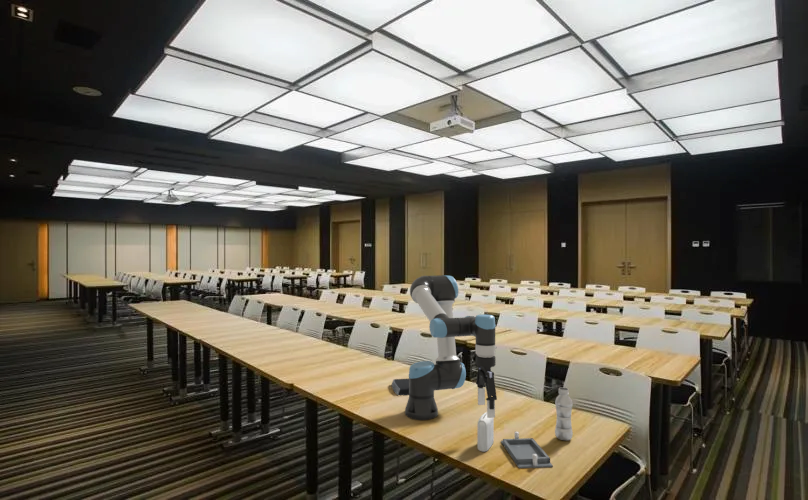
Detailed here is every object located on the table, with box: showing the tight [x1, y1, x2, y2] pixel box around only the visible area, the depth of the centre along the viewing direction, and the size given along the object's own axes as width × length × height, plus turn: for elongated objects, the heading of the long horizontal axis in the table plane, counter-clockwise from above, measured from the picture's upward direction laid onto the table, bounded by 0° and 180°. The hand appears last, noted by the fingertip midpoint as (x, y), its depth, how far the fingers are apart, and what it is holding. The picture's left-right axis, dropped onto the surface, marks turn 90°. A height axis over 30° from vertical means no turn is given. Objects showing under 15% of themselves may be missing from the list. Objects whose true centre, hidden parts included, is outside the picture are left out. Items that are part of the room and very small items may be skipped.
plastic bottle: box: [554, 387, 574, 441], centre depth 165 cm, size 6×7×20 cm
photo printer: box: [476, 411, 495, 453], centre depth 158 cm, size 10×4×12 cm, turn 152°
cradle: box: [500, 431, 553, 469], centre depth 152 cm, size 12×20×4 cm, turn 4°
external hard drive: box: [391, 377, 409, 396], centre depth 226 cm, size 13×19×4 cm
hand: (486, 410), depth 158 cm, fingers open, 13 cm apart
